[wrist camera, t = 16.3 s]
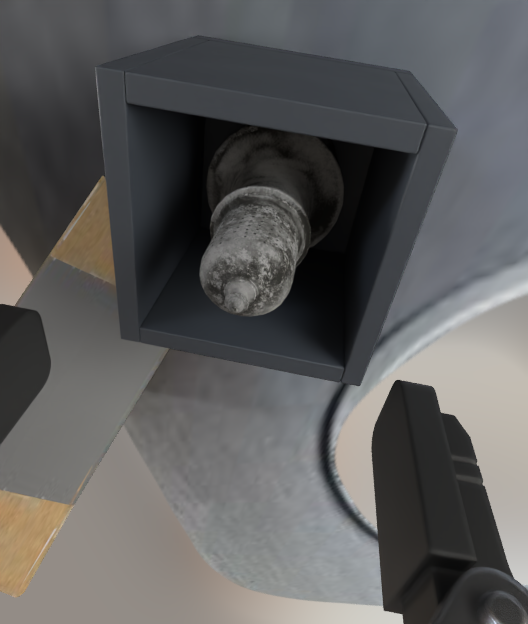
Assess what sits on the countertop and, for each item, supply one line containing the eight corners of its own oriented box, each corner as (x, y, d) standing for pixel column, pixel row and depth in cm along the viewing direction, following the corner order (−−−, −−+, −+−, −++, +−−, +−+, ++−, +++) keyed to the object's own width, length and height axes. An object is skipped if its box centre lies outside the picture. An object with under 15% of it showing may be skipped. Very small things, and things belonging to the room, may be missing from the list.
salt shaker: (211, 112, 20) (93, 221, 11) (339, 92, 19) (335, 194, 9) (237, 228, 24) (165, 390, 14) (347, 217, 22) (350, 387, 13)
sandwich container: (232, 256, 26) (135, 484, 14) (133, 390, 34) (22, 602, 22) (100, 169, 24) (-145, 349, 12) (30, 335, 32) (-152, 535, 20)
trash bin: (191, 229, 25) (120, 339, 17) (196, 35, 19) (94, 65, 11) (355, 260, 25) (360, 387, 17) (411, 71, 19) (459, 129, 11)
